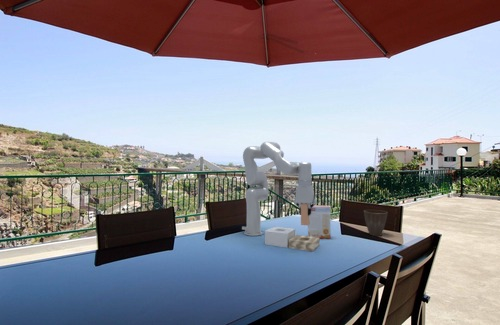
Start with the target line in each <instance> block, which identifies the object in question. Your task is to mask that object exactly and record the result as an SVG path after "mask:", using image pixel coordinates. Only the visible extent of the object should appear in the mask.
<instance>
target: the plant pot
mask: <svg viewBox="0 0 500 325" xmlns="http://www.w3.org/2000/svg"><path fill="white" fill-rule="evenodd" d="M363 214H364V215H363V216H364V221H365V226H366V229H367V232H368V234H369V235H370V236H375V237H380V236H382V234H383V231H384V230H385V226H386V223H387V219H388V211H385V210H379V209H378V210H377V209H364V210H363Z"/></svg>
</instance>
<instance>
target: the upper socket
mask: <svg viewBox="0 0 500 325" xmlns="http://www.w3.org/2000/svg"><path fill="white" fill-rule="evenodd" d="M294 236H296V229H295V228H289V227H279V226H273V227H271V228H268V229H266V230H264V244H265V245H267V246H272V247H273V246H274V247H281V248H285V249H286V248H288V249H289V240H290V239H291V238H293V237H294Z"/></svg>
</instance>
